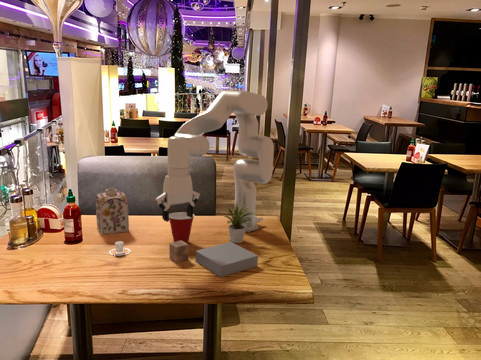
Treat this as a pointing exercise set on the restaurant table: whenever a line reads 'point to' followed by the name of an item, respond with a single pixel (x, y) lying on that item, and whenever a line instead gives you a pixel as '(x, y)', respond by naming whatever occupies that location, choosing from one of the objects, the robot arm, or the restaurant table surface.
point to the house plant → (237, 223)
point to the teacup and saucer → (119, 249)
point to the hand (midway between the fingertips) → (178, 218)
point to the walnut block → (178, 251)
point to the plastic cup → (180, 226)
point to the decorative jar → (112, 212)
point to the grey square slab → (226, 259)
